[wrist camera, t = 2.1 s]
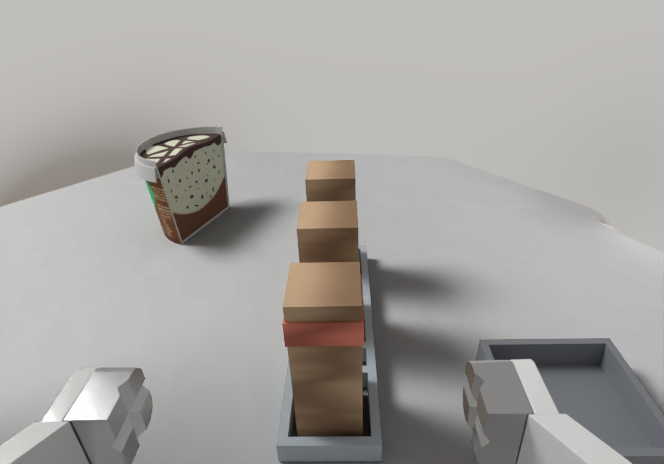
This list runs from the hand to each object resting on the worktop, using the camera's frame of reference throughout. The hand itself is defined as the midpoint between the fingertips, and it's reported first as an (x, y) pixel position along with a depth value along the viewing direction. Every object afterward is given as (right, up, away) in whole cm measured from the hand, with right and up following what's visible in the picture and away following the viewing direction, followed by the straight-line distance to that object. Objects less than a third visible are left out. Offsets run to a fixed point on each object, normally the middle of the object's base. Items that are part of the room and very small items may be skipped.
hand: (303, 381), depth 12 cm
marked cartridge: (+1, -9, +19) cm, 21 cm away
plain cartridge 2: (+1, -5, +26) cm, 26 cm away
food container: (-17, +5, +44) cm, 47 cm away
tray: (+16, -8, +19) cm, 26 cm away
